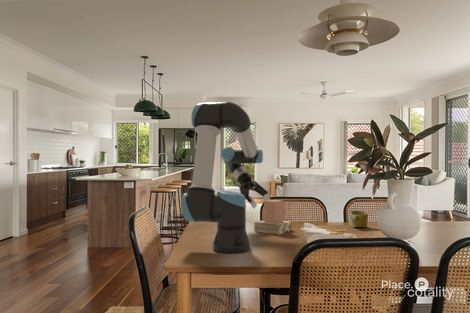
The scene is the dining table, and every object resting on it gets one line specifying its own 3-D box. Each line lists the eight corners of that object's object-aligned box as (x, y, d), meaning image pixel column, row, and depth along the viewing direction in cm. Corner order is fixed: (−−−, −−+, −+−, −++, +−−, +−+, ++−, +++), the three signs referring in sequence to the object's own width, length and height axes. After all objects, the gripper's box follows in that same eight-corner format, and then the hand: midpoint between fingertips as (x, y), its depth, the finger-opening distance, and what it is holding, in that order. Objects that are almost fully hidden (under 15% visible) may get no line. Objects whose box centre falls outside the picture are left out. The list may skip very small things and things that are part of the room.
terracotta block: (274, 223, 177) (274, 201, 177) (264, 221, 182) (263, 200, 182) (283, 221, 182) (283, 200, 182) (272, 220, 187) (272, 199, 187)
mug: (353, 220, 201) (356, 205, 198) (369, 228, 194) (373, 212, 190) (341, 227, 193) (344, 211, 190) (357, 236, 186) (361, 219, 183)
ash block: (278, 235, 172) (278, 225, 172) (254, 232, 181) (254, 222, 181) (291, 231, 184) (291, 221, 184) (268, 228, 192) (268, 219, 192)
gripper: (252, 180, 209) (273, 207, 198) (223, 182, 190) (244, 212, 180) (259, 171, 205) (281, 199, 195) (230, 172, 187) (252, 202, 176)
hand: (263, 205), depth 187 cm, fingers open, 13 cm apart
